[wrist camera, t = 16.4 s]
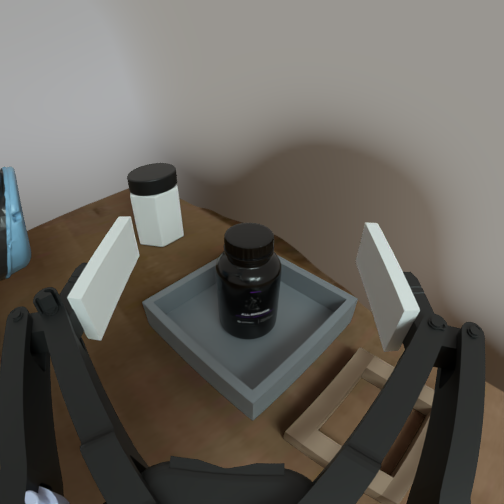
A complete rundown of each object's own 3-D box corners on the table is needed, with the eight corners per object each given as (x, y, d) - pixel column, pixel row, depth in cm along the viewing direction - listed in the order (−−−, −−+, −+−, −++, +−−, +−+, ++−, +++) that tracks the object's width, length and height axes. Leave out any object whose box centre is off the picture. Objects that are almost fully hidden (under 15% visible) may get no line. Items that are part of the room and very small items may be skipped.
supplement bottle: (251, 352, 33) (252, 265, 26) (208, 322, 37) (197, 236, 30) (288, 317, 37) (297, 232, 31) (245, 292, 41) (244, 210, 34)
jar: (192, 224, 57) (185, 163, 50) (174, 249, 51) (164, 182, 44) (150, 220, 59) (140, 162, 52) (129, 243, 52) (115, 180, 45)
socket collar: (283, 438, 26) (285, 431, 25) (355, 357, 33) (360, 347, 32) (390, 507, 18) (398, 504, 17) (446, 410, 26) (454, 401, 25)
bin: (149, 324, 37) (142, 302, 35) (248, 262, 48) (248, 240, 46) (252, 420, 27) (252, 403, 25) (350, 321, 38) (357, 298, 36)
